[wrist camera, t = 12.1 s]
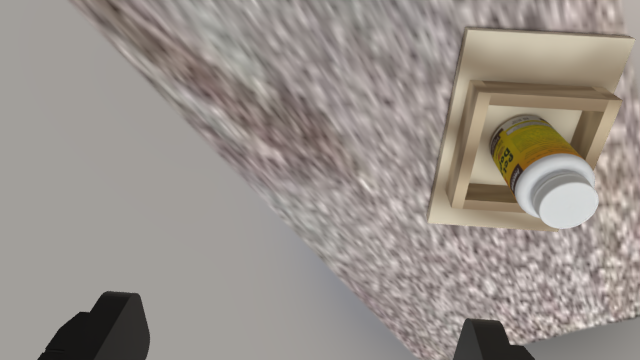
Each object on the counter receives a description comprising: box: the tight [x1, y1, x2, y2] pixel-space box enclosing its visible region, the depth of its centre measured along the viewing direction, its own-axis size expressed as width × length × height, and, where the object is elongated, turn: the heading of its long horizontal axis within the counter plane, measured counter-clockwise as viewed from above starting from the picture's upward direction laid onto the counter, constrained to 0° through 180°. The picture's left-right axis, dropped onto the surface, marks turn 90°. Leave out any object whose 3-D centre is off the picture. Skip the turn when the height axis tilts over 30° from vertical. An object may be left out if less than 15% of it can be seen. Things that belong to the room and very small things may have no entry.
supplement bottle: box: [490, 116, 599, 229], centre depth 35 cm, size 6×6×10 cm
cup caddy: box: [427, 27, 636, 232], centre depth 38 cm, size 19×13×4 cm
